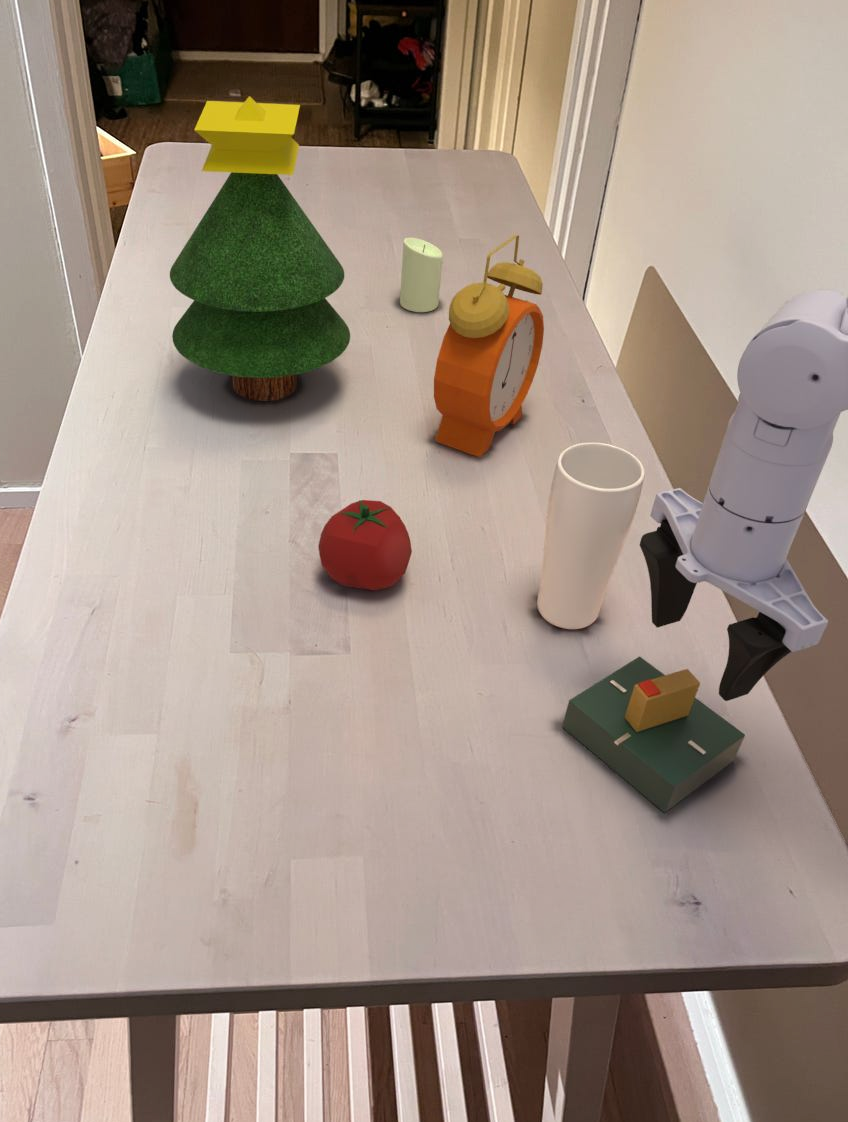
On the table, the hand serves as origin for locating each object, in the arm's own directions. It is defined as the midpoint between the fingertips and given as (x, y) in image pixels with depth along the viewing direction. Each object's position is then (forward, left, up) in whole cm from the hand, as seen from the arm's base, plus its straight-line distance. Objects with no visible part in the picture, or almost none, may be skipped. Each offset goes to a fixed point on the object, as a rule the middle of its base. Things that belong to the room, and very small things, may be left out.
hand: (698, 656), depth 69 cm
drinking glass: (+15, -5, -9) cm, 18 cm away
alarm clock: (+41, -19, -9) cm, 46 cm away
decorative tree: (+62, -5, -9) cm, 63 cm away
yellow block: (+1, +1, -6) cm, 6 cm away
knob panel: (+1, +1, -9) cm, 9 cm away
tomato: (+29, +6, -9) cm, 31 cm away
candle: (+68, -33, -9) cm, 76 cm away
